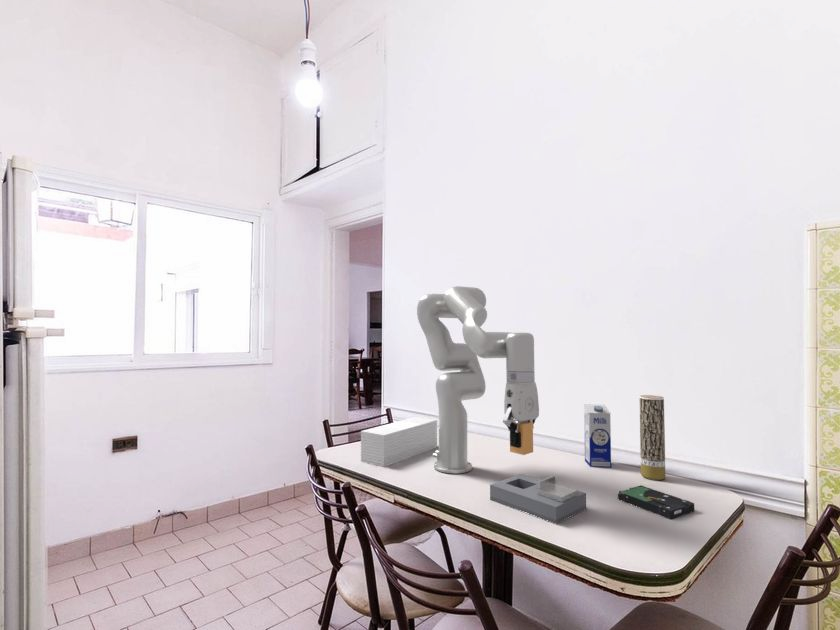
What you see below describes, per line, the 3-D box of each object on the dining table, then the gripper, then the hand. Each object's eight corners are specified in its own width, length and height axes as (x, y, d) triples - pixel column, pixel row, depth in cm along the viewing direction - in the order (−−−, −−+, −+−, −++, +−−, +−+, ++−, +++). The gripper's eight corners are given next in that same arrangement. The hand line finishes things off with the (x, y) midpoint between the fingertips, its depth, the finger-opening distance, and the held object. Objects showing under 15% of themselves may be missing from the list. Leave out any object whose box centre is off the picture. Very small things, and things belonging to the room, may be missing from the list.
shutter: (537, 494, 111) (537, 481, 111) (552, 487, 115) (552, 475, 116) (562, 502, 106) (562, 488, 106) (577, 495, 110) (577, 482, 110)
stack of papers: (415, 443, 179) (415, 416, 179) (437, 447, 173) (437, 419, 173) (360, 462, 153) (360, 430, 154) (383, 467, 147) (383, 435, 147)
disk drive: (695, 514, 111) (640, 494, 123) (695, 502, 111) (640, 484, 124) (671, 522, 105) (616, 501, 118) (671, 510, 106) (616, 490, 118)
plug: (510, 451, 119) (509, 422, 120) (519, 449, 122) (519, 420, 122) (523, 455, 116) (523, 424, 116) (533, 452, 119) (532, 422, 119)
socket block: (490, 499, 118) (490, 484, 118) (521, 487, 127) (521, 473, 127) (556, 524, 103) (555, 506, 103) (586, 508, 112) (586, 492, 112)
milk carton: (605, 461, 153) (604, 404, 154) (611, 467, 147) (610, 407, 147) (584, 461, 154) (583, 403, 155) (589, 466, 147) (589, 406, 148)
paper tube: (641, 472, 141) (640, 394, 142) (665, 476, 138) (664, 396, 139) (640, 478, 135) (638, 397, 136) (665, 482, 132) (663, 398, 133)
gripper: (512, 380, 112) (513, 453, 111) (549, 376, 123) (550, 442, 122) (489, 378, 117) (490, 447, 116) (527, 375, 128) (528, 438, 127)
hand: (521, 444), depth 119 cm, fingers closed on plug, 4 cm apart
